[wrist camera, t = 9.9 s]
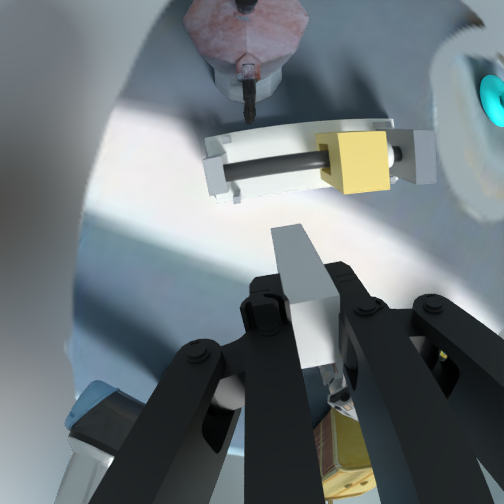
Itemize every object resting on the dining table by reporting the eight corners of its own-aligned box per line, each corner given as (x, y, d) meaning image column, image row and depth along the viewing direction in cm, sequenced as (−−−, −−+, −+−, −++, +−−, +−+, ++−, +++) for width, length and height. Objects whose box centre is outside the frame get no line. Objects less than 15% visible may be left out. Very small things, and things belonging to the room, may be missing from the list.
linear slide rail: (218, 201, 37) (205, 227, 27) (205, 138, 34) (186, 138, 24) (394, 178, 36) (436, 195, 26) (389, 118, 32) (432, 117, 22)
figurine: (354, 322, 46) (382, 384, 32) (362, 360, 50) (384, 417, 37) (307, 339, 47) (322, 405, 34) (321, 375, 52) (334, 434, 38)
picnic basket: (353, 445, 69) (370, 519, 41) (280, 446, 66) (286, 532, 38) (405, 393, 57) (442, 483, 30) (323, 393, 55) (347, 512, 27)
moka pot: (278, 25, 27) (301, -58, 9) (292, 127, 33) (337, 117, 15) (208, 32, 28) (170, -45, 9) (220, 134, 34) (183, 131, 15)
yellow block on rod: (320, 178, 33) (344, 194, 24) (315, 133, 31) (337, 133, 22) (357, 175, 33) (389, 189, 24) (352, 130, 30) (385, 131, 22)
